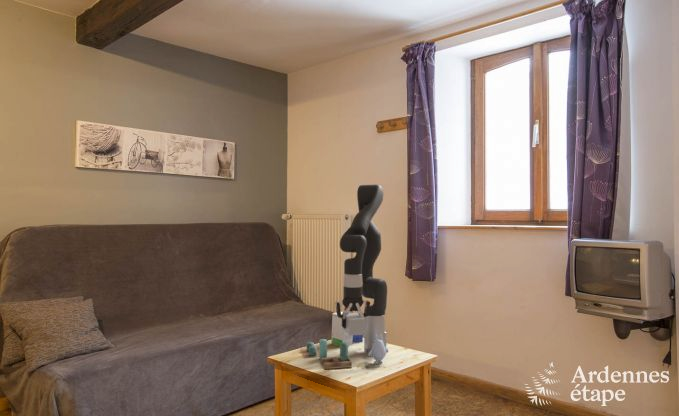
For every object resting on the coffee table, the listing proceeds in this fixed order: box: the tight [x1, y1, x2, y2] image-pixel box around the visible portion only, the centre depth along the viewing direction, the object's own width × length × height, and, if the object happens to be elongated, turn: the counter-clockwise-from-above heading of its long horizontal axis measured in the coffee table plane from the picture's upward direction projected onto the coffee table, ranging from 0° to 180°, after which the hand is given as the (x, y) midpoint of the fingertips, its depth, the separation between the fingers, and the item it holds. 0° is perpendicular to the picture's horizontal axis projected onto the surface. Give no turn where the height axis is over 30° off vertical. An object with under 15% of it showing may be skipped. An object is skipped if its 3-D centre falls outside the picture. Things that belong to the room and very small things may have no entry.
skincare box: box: [330, 311, 353, 347], centre depth 220 cm, size 8×7×16 cm
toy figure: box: [367, 334, 389, 365], centre depth 195 cm, size 11×6×12 cm, turn 125°
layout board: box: [299, 341, 319, 359], centre depth 205 cm, size 8×13×5 cm, turn 13°
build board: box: [320, 343, 353, 371], centre depth 191 cm, size 11×8×9 cm
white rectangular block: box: [342, 312, 365, 336], centre depth 186 cm, size 6×12×6 cm, turn 13°
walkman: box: [352, 335, 364, 343], centre depth 229 cm, size 8×3×12 cm, turn 96°
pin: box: [318, 338, 328, 361], centre depth 197 cm, size 3×3×9 cm
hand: (352, 327), depth 186 cm, fingers closed on white rectangular block, 6 cm apart
